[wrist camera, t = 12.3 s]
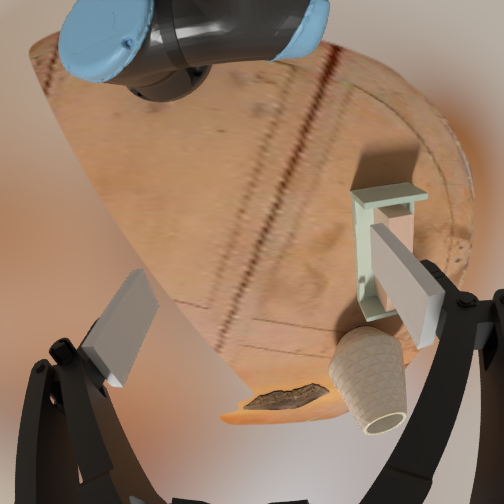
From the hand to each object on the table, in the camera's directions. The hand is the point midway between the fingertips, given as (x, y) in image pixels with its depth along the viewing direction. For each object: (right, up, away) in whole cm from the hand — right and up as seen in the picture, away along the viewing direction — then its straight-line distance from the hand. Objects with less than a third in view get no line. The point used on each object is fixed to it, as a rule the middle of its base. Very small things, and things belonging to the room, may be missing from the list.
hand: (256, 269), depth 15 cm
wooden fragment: (+9, -41, +56) cm, 70 cm away
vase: (+25, -20, +45) cm, 56 cm away
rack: (+24, +2, +34) cm, 42 cm away
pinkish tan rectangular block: (+24, +2, +33) cm, 41 cm away
